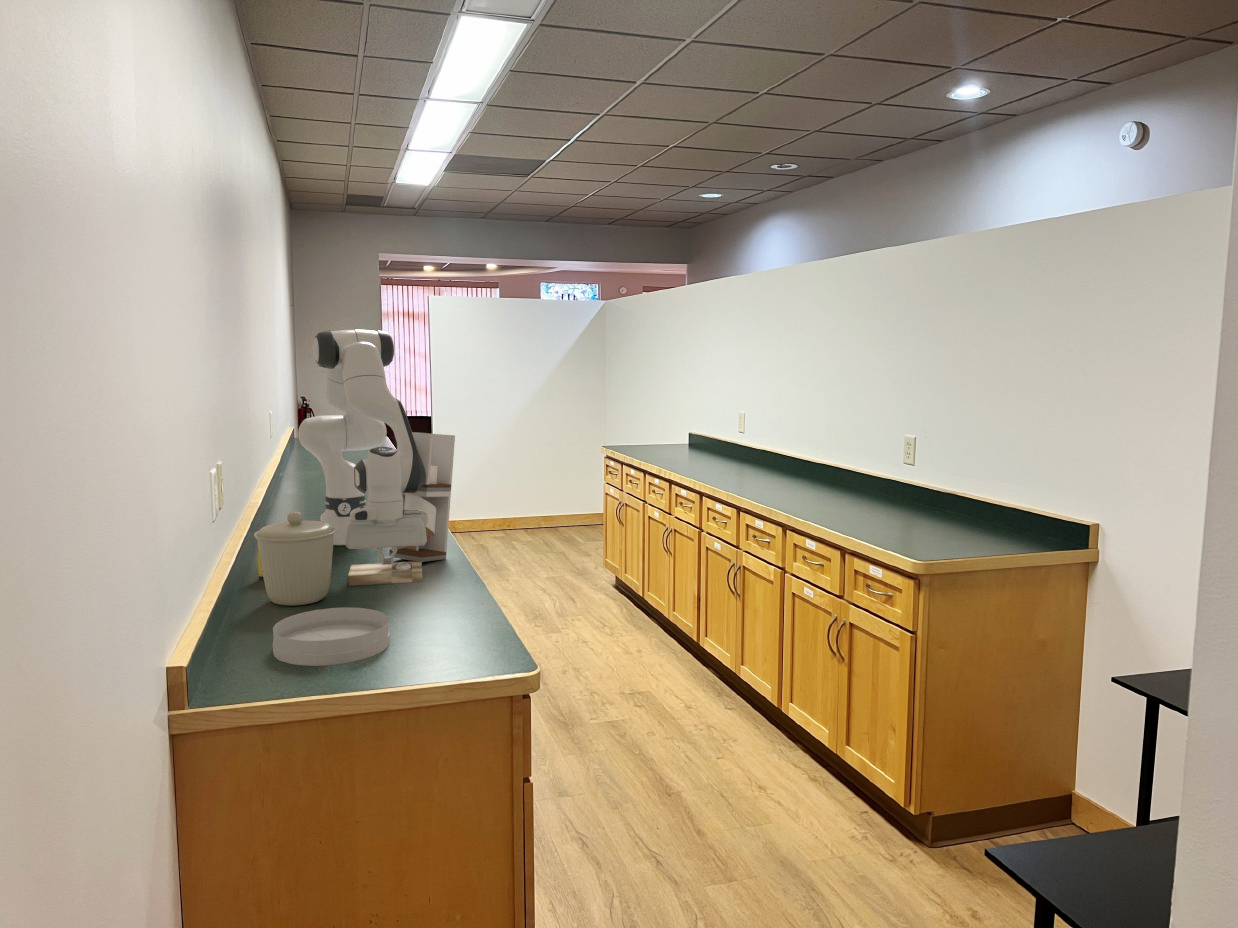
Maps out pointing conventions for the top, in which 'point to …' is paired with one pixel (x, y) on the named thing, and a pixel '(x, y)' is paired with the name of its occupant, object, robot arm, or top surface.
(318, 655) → the dish
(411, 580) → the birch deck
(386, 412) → the robot arm
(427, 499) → the display case
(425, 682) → the top surface
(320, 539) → the canister
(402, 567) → the steel ball
